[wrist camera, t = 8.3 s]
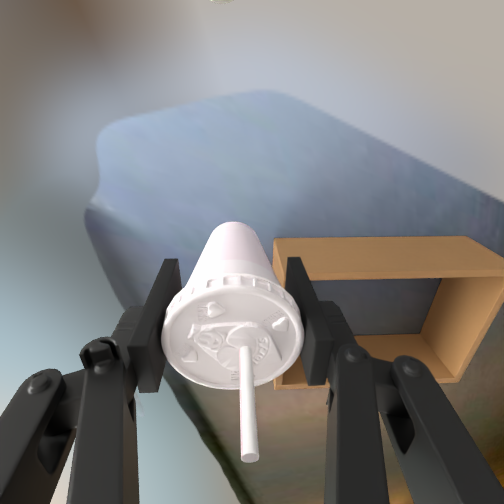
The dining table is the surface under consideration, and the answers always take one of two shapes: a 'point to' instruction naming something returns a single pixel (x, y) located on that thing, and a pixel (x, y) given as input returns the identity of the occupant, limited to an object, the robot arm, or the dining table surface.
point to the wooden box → (409, 266)
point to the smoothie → (233, 323)
